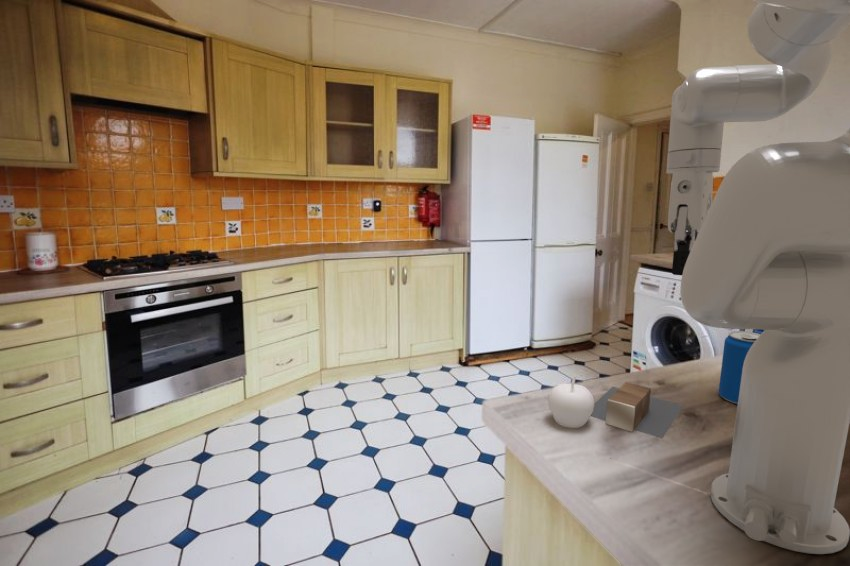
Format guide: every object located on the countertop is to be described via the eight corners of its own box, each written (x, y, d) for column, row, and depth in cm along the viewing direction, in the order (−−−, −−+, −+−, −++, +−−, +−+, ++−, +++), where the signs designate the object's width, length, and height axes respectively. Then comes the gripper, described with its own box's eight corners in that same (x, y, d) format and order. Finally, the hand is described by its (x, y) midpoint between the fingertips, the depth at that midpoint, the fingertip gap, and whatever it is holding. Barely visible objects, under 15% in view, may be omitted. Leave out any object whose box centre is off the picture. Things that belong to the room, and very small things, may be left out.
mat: (662, 440, 68) (662, 438, 68) (583, 415, 76) (583, 413, 76) (683, 407, 79) (683, 404, 78) (612, 388, 86) (612, 386, 86)
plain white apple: (602, 427, 72) (606, 380, 71) (569, 438, 69) (571, 389, 67) (570, 409, 78) (572, 365, 77) (538, 419, 75) (539, 373, 74)
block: (648, 410, 77) (632, 431, 70) (624, 403, 79) (605, 423, 72) (650, 388, 76) (634, 407, 69) (625, 382, 78) (607, 400, 72)
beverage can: (724, 406, 79) (732, 339, 76) (713, 391, 85) (720, 329, 82) (768, 411, 77) (778, 343, 74) (753, 395, 83) (762, 331, 81)
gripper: (712, 157, 66) (700, 282, 69) (726, 165, 78) (716, 272, 80) (655, 161, 71) (647, 278, 74) (677, 167, 82) (669, 268, 85)
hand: (683, 274), depth 77 cm, fingers closed
